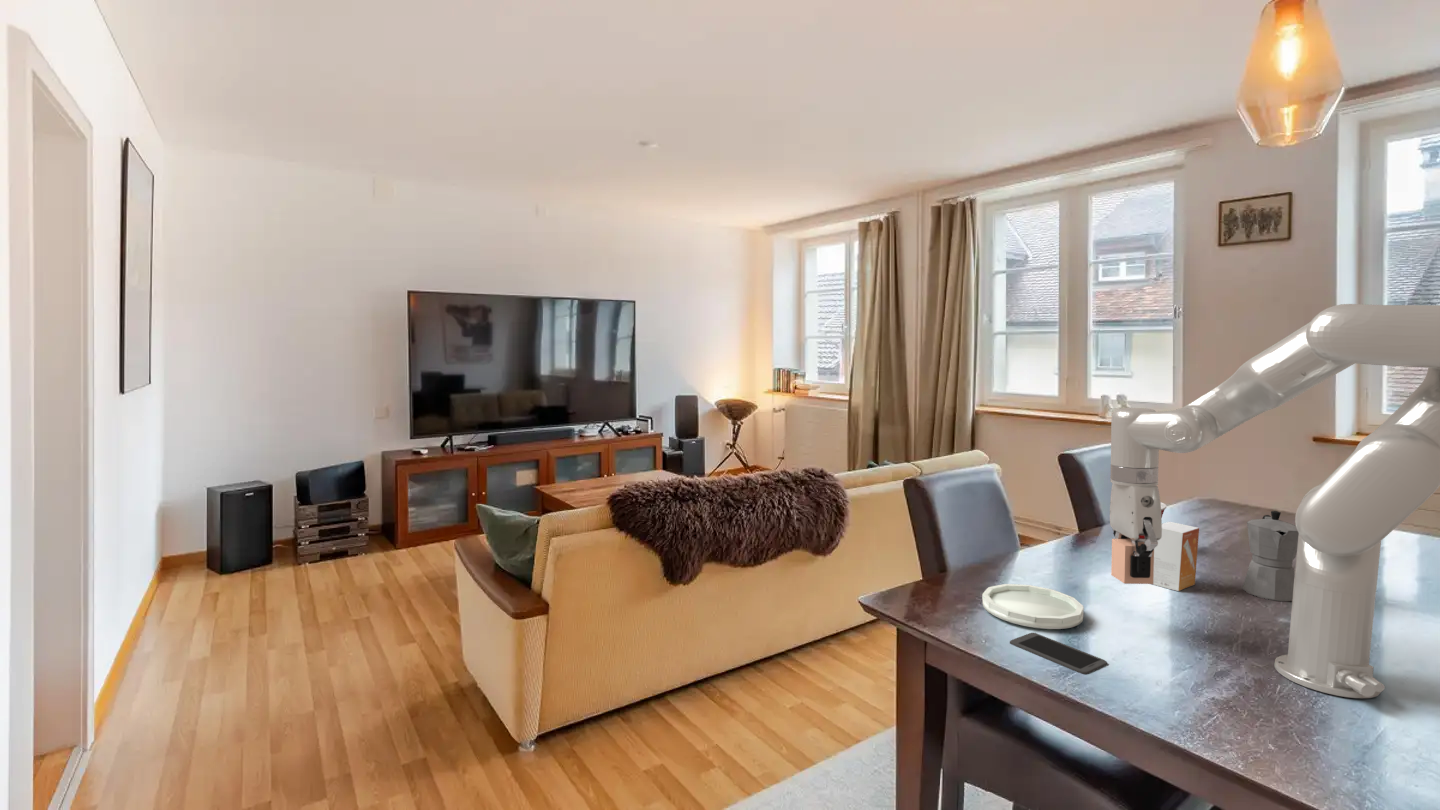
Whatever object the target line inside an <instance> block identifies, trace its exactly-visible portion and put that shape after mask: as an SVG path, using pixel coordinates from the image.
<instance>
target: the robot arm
mask: <svg viewBox="0 0 1440 810" xmlns="http://www.w3.org/2000/svg"><path fill="white" fill-rule="evenodd" d="M1356 364H1359V365H1371V366H1372V365H1373V366H1388V367H1389V366H1390V367H1409V368H1410V367H1411V368H1427V372H1426V374H1425V377H1424V379H1423V380H1422V382H1421V383H1420V385H1419V386H1418V387H1416V389H1414V391H1413V392H1412V393H1411V394H1410V395H1409V396H1408V397H1407V398H1406V399H1405V401H1404V402H1403V403H1402V404H1401V405H1400V406H1399V407H1398V408H1397V409H1396V410H1395V411H1394V412H1393V413H1392V414H1391V415H1390V416H1389V417H1388V418H1387V419H1385V421H1384V422H1383V423H1382V424H1380V425H1379V426H1378V427H1377V428H1375V430H1374V431H1371V432H1370V434H1368V435H1367V436H1365V437H1364V438H1362V440H1360V442H1359V443H1358V444H1357V445H1356V447H1355V449H1354V451H1353V452H1352V453H1350V455H1349V456H1348V457H1347V458H1346V459H1344V461H1343V462H1342V463H1341V464H1340V465H1339V466H1337V468H1336V469H1335V470H1334V471H1333V472H1332V473H1331V474H1330V475H1329V476H1328V477H1327V478H1326V479H1325V480H1324V481H1322V483H1320V484H1318V485H1316V486H1314V487H1312V488H1311V489H1310V490H1309V491H1307V493H1305V495H1303V498H1302V499H1301V501H1300V503H1299V505H1298V507H1297V509H1296V512H1295V516H1294V517H1295V518H1294V522H1295V524H1294V525H1296V528H1297V531H1298V533H1299V536H1298V546H1297V553H1296V557H1295V559H1296V560H1295V567H1294V568H1295V569H1294V575H1295V576H1294V587H1293V599H1292V601H1291V612H1290V613H1291V614H1290V626H1289V635H1288V651H1287V654H1282V655H1279V656H1276V658H1275V659H1274V664H1273V665H1274V669H1275V670H1276V671H1277V672H1278V674H1280V675H1282V677H1284V678H1285V679H1287V680H1289V681H1291V682H1293V683H1296V684H1298V685H1300V686H1303V687H1304V688H1308V689H1311V690H1314V691H1317V692H1320V693H1323V694H1327V695H1328V694H1329V695H1333V696H1337V697H1344V698H1351V699H1372V698H1376V697H1378V696H1379V695H1381V693H1382V692H1384V691H1385V685H1384V684H1383V683H1382V682H1380V681H1379V680H1377V679H1376V678H1375V677H1374V666H1372V665H1370V657H1371V656H1370V655H1371V648H1372V637H1373V636H1372V635H1373V625H1374V616H1375V605H1376V597H1377V596H1376V594H1377V588H1378V587H1377V585H1378V577H1379V567H1380V566H1379V565H1380V556H1381V555H1380V554H1381V545H1382V541H1383V539H1385V538H1386V537H1387V536H1388V535H1390V534H1391V533H1392V532H1393V531H1394V530H1395V529H1396V528H1397V527H1398V526H1399V525H1401V524H1402V523H1403V522H1404V521H1405V520H1406V519H1407V518H1408V517H1410V516H1411V515H1412V514H1413V513H1414V512H1416V510H1417V509H1418V508H1420V507H1421V506H1422V505H1423V504H1424V503H1425V502H1426V501H1427V500H1428V499H1429V498H1430V497H1431V496H1433V494H1435V492H1436V491H1437V490H1438V489H1439V488H1440V304H1436V305H1435V304H1434V305H1433V304H1432V305H1431V304H1428V305H1427V304H1423V305H1422V304H1408V305H1405V304H1395V305H1394V304H1366V303H1365V304H1363V303H1362V304H1361V303H1343V304H1337V305H1336V304H1335V305H1333V306H1329V307H1327V308H1325V309H1323V310H1321V311H1320V312H1318V314H1316V315H1315V316H1314V317H1313V318H1312V319H1311V320H1310V322H1308V323H1306V324H1305V325H1303V326H1302V327H1300V328H1298V329H1296V330H1295V331H1294V332H1292V333H1290V334H1289V335H1287V336H1286V337H1284V338H1282V339H1280V340H1279V341H1278V342H1276V343H1275V344H1273V345H1271V346H1269V347H1267V348H1266V349H1264V350H1262V351H1261V352H1259V353H1258V354H1256V355H1254V356H1253V357H1250V359H1248V360H1246V361H1245V362H1244V363H1242V365H1240V366H1239V367H1238V368H1237V370H1236V371H1235V372H1234V373H1233V374H1232V375H1230V376H1229V378H1226V380H1224V381H1223V382H1221V383H1220V384H1219V385H1217V386H1216V387H1214V388H1212V389H1211V390H1209V391H1208V392H1206V393H1204V394H1202V395H1201V396H1199V397H1198V398H1196V399H1194V400H1192V401H1191V402H1190V403H1188V404H1186V405H1184V406H1182V407H1180V408H1177V409H1173V410H1164V411H1156V410H1155V409H1152V408H1147V407H1146V408H1144V407H1123V408H1118V409H1115V410H1114V411H1113V412H1112V414H1111V421H1110V423H1111V426H1110V427H1111V428H1110V429H1111V430H1110V432H1111V433H1110V478H1109V479H1110V483H1112V485H1111V491H1110V503H1109V524H1110V527H1111V529H1112V531H1113V532H1112V534H1113V537H1114V539H1131V540H1132V549H1133V555H1131V565H1130V576H1131V577H1133V578H1149V577H1150V567H1151V557H1152V552H1153V550H1154V548H1155V547H1157V545H1158V542H1157V540H1160V539H1161V537H1162V524H1163V523H1162V518H1163V516H1162V517H1161V503H1160V502H1161V496H1160V491H1159V486H1158V485H1159V461H1160V460H1159V457H1160V456H1159V455H1160V452H1159V451H1165V452H1170V453H1175V454H1176V453H1177V454H1186V453H1187V454H1188V453H1193V452H1195V451H1197V450H1199V449H1201V448H1202V447H1204V446H1206V445H1208V444H1210V443H1211V442H1213V441H1214V440H1216V439H1218V438H1220V437H1222V436H1223V435H1226V434H1227V433H1228V432H1231V431H1233V430H1234V429H1236V428H1237V427H1240V425H1242V424H1244V423H1246V422H1248V421H1249V420H1252V419H1253V418H1255V417H1257V416H1259V415H1261V414H1263V413H1265V412H1267V411H1270V410H1273V409H1277V408H1278V407H1281V406H1282V405H1285V404H1286V403H1288V402H1289V401H1291V400H1293V399H1296V397H1298V396H1300V395H1302V394H1303V393H1305V392H1307V391H1308V390H1310V389H1312V388H1314V387H1316V386H1318V385H1320V384H1321V383H1323V382H1325V381H1326V380H1328V379H1329V378H1331V377H1333V376H1336V375H1337V374H1339V373H1341V372H1342V371H1344V370H1346V369H1348V368H1350V367H1352V366H1354V365H1356ZM1139 536H1145V539H1138V538H1139ZM1138 542H1144V544H1141V546H1140V547H1138Z"/></svg>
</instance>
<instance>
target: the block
mask: <svg viewBox="0 0 1440 810" xmlns="http://www.w3.org/2000/svg"><path fill="white" fill-rule="evenodd" d="M1141 544H1144V542H1138V547H1140V546H1141ZM1131 555H1133V549H1132V540H1131V539H1115V538H1112V539H1111V571H1110V573H1111V576H1112V577H1113V578H1115V579H1117V580H1119V582H1121V583H1123V584H1124V585H1125V584H1126V585H1127V584H1128V585H1132V584H1133V585H1136V584H1137V585H1138V584H1139V585H1153V577H1154V550H1153V552H1152V557H1151V567H1150V577H1149V578H1133V577H1131V576H1130V565H1131Z"/></svg>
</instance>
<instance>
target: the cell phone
mask: <svg viewBox="0 0 1440 810" xmlns="http://www.w3.org/2000/svg"><path fill="white" fill-rule="evenodd" d="M1009 644H1010V645H1011V646H1014V647H1017V648H1019V649H1022V650H1024V651H1026V652H1028V653H1031V654H1033V655H1035V656H1037V657H1040V658H1043V659H1045V660H1048V661H1050V662H1052V663H1055V664H1057V665H1059V666H1062V667H1064V668H1067V669H1069V670H1072V671H1074V672H1076V673H1078V674H1081V675H1089V674H1091V673H1093V672H1096V671H1097V670H1100V669H1101V668H1103V667H1106V666H1108V662H1107V660H1105V659H1103V658H1100V657H1098V656H1095V655H1093V654H1090V653H1088V652H1084V651H1082V650H1080V649H1078V648H1074V647H1072V646H1070V645H1067V644H1065V643H1062V642H1059V641H1057V640H1054V639H1052V638H1049V637H1046V636H1044V635H1041V634H1039V633H1036V632H1029V633H1026V634H1024V635H1021V636H1019V637H1016V638H1013V639H1010V640H1009Z"/></svg>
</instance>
